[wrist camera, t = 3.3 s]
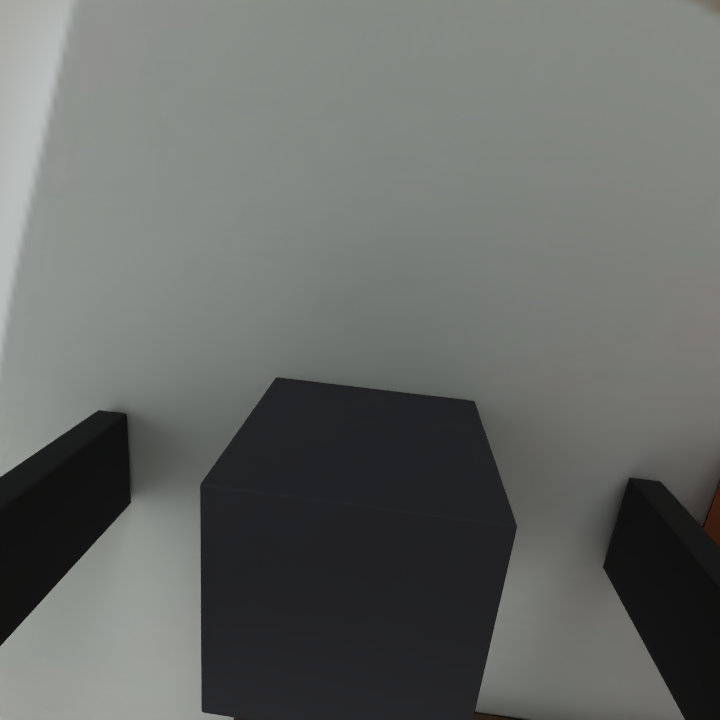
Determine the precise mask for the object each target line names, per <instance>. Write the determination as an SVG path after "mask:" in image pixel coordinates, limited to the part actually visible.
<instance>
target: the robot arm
mask: <svg viewBox="0 0 720 720" xmlns="http://www.w3.org/2000/svg"><path fill="white" fill-rule="evenodd" d="M130 503H131V497H130V477H129V456H128V436H127V416H126V414H124V413H116V412H108V411H100V410H98V411H97V412H95V413H94V414H93V415H91V416H90V417H88V418H87V419H85V420H84V421H82V422H81V423H79V424H78V425H76V426H75V427H73V428H72V429H71V430H69V431H68V432H66V433H65V434H63V435H62V436H60V437H59V438H57V439H56V440H54V441H53V442H51V443H50V444H48V445H47V446H46V447H44V448H43V449H41V450H40V451H38V452H37V453H35V454H34V455H32V456H31V457H29V458H28V459H26V460H25V461H24V462H22V463H21V464H19V465H18V466H16V467H15V468H13V469H12V470H10V471H9V472H7V473H6V474H4V475H3V476H1V477H0V646H1V645H2V644H3V643H4V641H5V640H6V639H7V638H8V637H9V636H10V635H11V634H12V633H13V632H14V630H15V629H16V628H17V627H18V626H19V625H20V624H21V623H22V622H23V621H24V619H25V618H26V617H27V616H28V615H29V614H30V613H31V612H32V611H33V610H34V608H35V607H36V606H37V605H38V604H39V603H40V602H41V601H42V600H43V599H44V598H45V596H46V595H47V594H48V593H49V592H50V591H51V590H52V589H53V588H54V587H55V585H56V584H57V583H58V582H59V581H60V580H61V579H62V578H63V577H64V576H65V574H66V573H67V572H68V571H69V570H70V569H71V568H72V567H73V566H74V565H75V563H76V562H77V561H78V560H79V559H80V558H81V557H82V556H83V555H84V554H85V553H86V551H87V550H88V549H89V548H90V547H91V546H92V545H93V544H94V543H95V542H96V540H97V539H98V538H99V537H100V536H101V535H102V534H103V533H104V532H105V531H106V529H107V528H108V527H109V526H110V525H111V524H112V523H113V522H114V521H115V520H116V518H117V517H118V516H119V515H120V514H121V513H122V512H123V511H124V510H125V509H126V508H127V506H128V505H129V504H130ZM603 568H604V570H605V572H606V574H607V576H608V577H609V579H610V581H611V583H612V585H613V587H614V589H615V590H616V592H617V594H618V596H619V598H620V600H621V601H622V603H623V605H624V607H625V609H626V611H627V613H628V614H629V616H630V618H631V620H632V622H633V624H634V626H635V627H636V629H637V631H638V633H639V635H640V637H641V639H642V640H643V642H644V644H645V646H646V648H647V650H648V652H649V653H650V655H651V657H652V659H653V661H654V663H655V665H656V666H657V668H658V670H659V672H660V674H661V676H662V677H663V679H664V681H665V683H666V685H667V687H668V689H669V690H670V692H671V694H672V696H673V698H674V700H675V702H676V703H677V705H678V707H679V709H680V711H681V713H682V715H683V716H684V718H685V720H720V547H719V546H718V544H717V543H716V542H715V541H714V540H713V539H712V538H711V537H710V536H709V535H708V533H707V532H706V531H705V530H704V529H703V528H702V527H701V526H700V525H699V524H698V522H697V521H696V520H695V519H694V518H693V517H692V516H691V515H690V514H689V513H688V511H687V510H686V509H685V508H684V507H683V506H682V505H681V504H680V503H679V502H678V500H677V499H676V498H675V497H674V496H673V495H672V494H671V493H670V492H669V491H668V489H667V488H666V487H665V486H664V485H663V484H662V483H661V482H660V481H652V480H644V479H636V478H629V481H628V484H627V487H626V491H625V494H624V498H623V501H622V504H621V508H620V511H619V515H618V518H617V521H616V525H615V528H614V531H613V535H612V538H611V542H610V545H609V548H608V552H607V555H606V559H605V562H604V565H603Z"/></svg>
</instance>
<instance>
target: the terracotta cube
mask: <svg viewBox="0 0 720 720" xmlns="http://www.w3.org/2000/svg"><path fill="white" fill-rule="evenodd" d="M703 529H704V530H705V531H706V532H707V533H708V535H709V536H710V537H711V538H712V539H713V540H714V541H715V542H716V543H717V544H718V546H719V547H720V485H719V488H718V490H717V493H716V496H715V498H714V501H713V504H712V506H711V509H710V512H709V514H708V517H707V520H706V523H705V525H704V528H703Z"/></svg>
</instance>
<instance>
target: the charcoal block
mask: <svg viewBox="0 0 720 720" xmlns="http://www.w3.org/2000/svg"><path fill="white" fill-rule="evenodd" d="M200 497H201V666H202V712H204V713H210V714H217V715H223V716H230V717H236V718H242V719H249V720H473V717H474V713H475V708H476V704H477V699H478V695H479V691H480V686H481V682H482V678H483V673H484V669H485V664H486V660H487V656H488V651H489V647H490V643H491V638H492V634H493V630H494V625H495V621H496V616H497V612H498V608H499V603H500V599H501V595H502V590H503V586H504V581H505V577H506V573H507V568H508V564H509V560H510V555H511V551H512V546H513V542H514V538H515V533H516V529H517V525H516V522H515V519H514V516H513V513H512V510H511V507H510V504H509V501H508V498H507V495H506V492H505V489H504V487H503V484H502V481H501V478H500V475H499V472H498V469H497V466H496V463H495V460H494V457H493V454H492V451H491V448H490V445H489V442H488V439H487V436H486V433H485V431H484V428H483V425H482V422H481V419H480V416H479V413H478V410H477V407H476V404H475V402H474V401H468V400H460V399H452V398H443V397H435V396H426V395H418V394H410V393H401V392H393V391H385V390H376V389H368V388H360V387H351V386H343V385H335V384H326V383H318V382H309V381H301V380H293V379H284V378H276V379H275V380H274V381H273V383H272V384H271V386H270V387H269V388H268V390H267V391H266V393H265V394H264V396H263V397H262V398H261V400H260V401H259V403H258V404H257V405H256V407H255V408H254V410H253V411H252V412H251V414H250V415H249V417H248V418H247V420H246V421H245V422H244V424H243V425H242V427H241V428H240V429H239V431H238V432H237V434H236V435H235V437H234V438H233V439H232V441H231V442H230V444H229V445H228V446H227V448H226V449H225V451H224V452H223V453H222V455H221V456H220V458H219V459H218V461H217V462H216V463H215V465H214V466H213V468H212V469H211V470H210V472H209V473H208V475H207V476H206V477H205V479H204V480H203V482H202V483H201V485H200Z"/></svg>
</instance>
